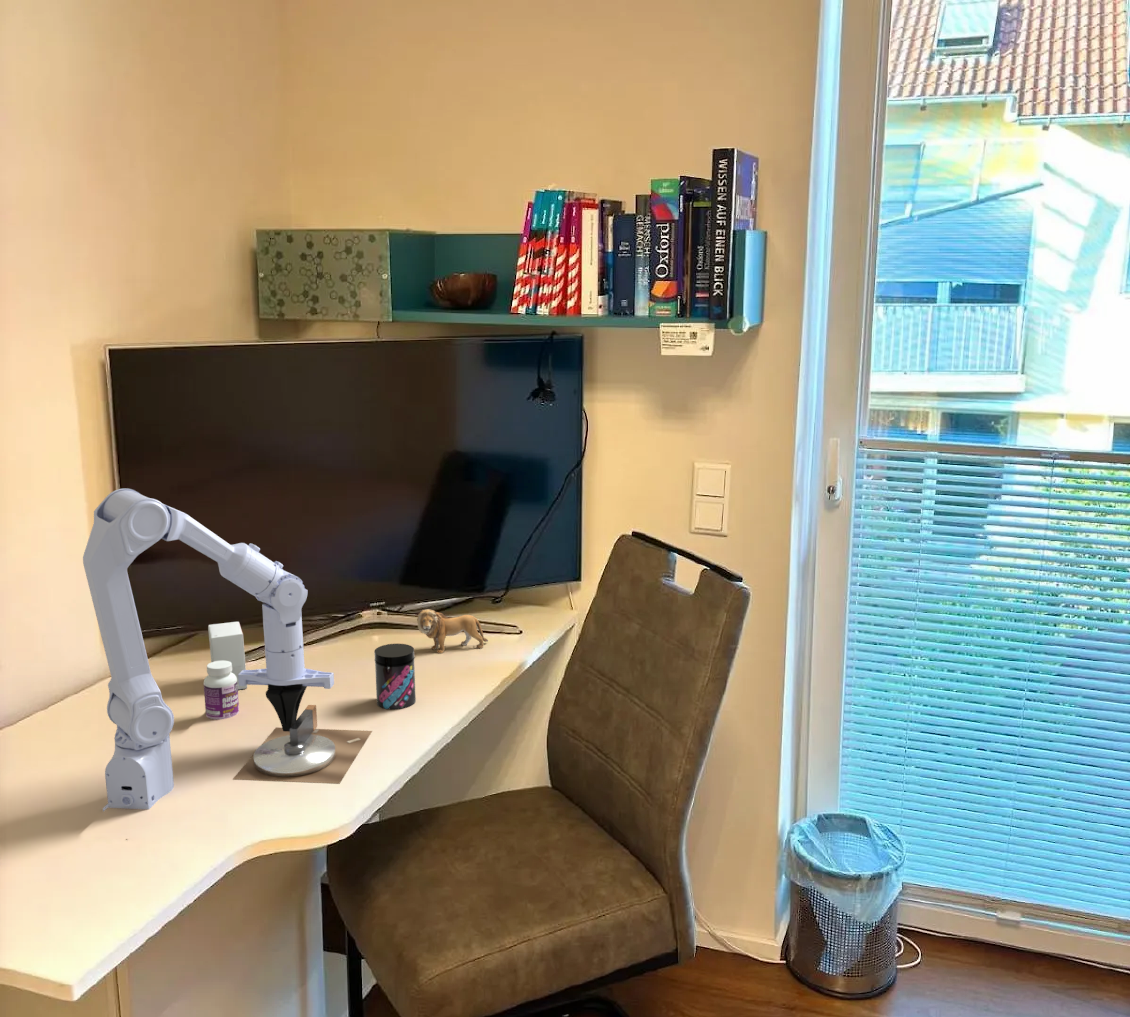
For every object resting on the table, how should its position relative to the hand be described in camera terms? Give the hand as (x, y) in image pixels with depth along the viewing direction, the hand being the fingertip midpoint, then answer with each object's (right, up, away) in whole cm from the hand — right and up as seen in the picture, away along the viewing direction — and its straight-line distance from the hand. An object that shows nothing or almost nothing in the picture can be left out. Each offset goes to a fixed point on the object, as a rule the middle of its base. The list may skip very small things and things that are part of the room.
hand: (289, 728), depth 165 cm
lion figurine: (+21, +6, +45) cm, 50 cm away
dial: (+2, -3, -3) cm, 5 cm away
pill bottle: (-15, -1, +13) cm, 19 cm away
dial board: (+3, -4, -2) cm, 6 cm away
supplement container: (+14, 0, +17) cm, 22 cm away
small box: (-18, +2, +28) cm, 33 cm away
